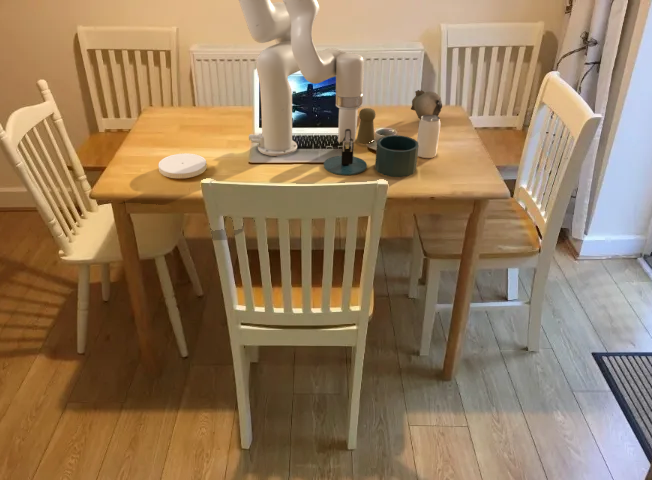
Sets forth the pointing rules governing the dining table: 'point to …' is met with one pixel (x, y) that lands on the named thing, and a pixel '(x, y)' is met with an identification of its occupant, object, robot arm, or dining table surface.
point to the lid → (345, 166)
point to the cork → (366, 126)
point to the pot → (396, 156)
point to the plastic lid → (182, 165)
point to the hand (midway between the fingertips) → (347, 156)
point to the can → (428, 136)
